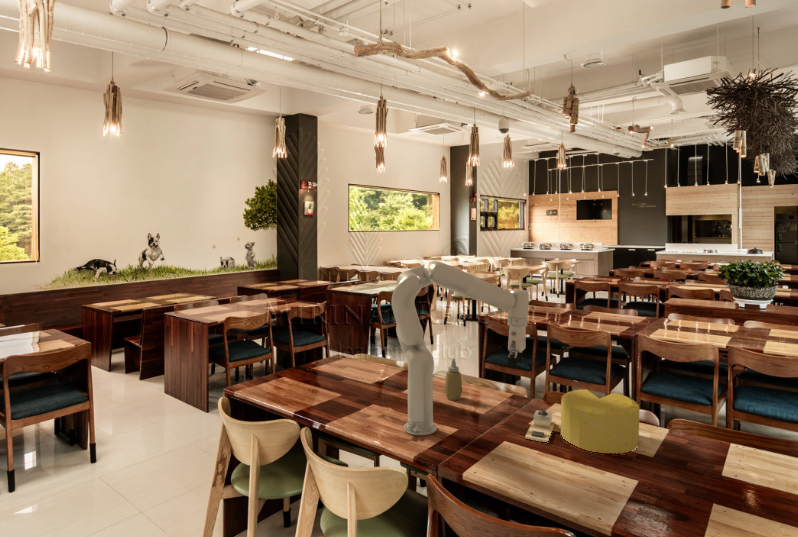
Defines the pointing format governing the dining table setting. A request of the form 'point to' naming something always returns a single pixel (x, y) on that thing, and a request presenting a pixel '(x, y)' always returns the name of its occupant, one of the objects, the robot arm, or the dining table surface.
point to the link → (542, 419)
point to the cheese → (600, 422)
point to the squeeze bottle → (453, 382)
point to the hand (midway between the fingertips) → (515, 365)
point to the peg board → (540, 431)
